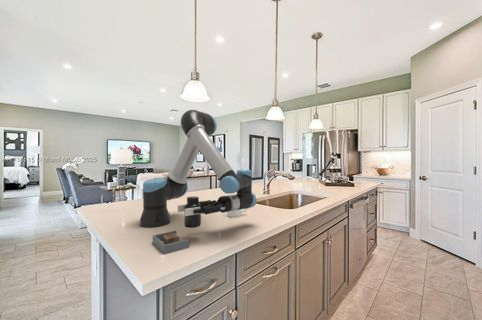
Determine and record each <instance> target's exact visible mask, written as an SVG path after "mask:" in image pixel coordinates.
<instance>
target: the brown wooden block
mask: <svg viewBox="0 0 482 320" xmlns="http://www.w3.org/2000/svg"><path fill="white" fill-rule="evenodd" d="M176 233H177V232H176ZM176 233H173V234H168V235H163V241H162V242H163V243H164V244H165V245H166V244H170V243H174V242H178V241H180V236H179V235H178V233H177V234H176Z"/></svg>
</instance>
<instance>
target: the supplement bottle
mask: <svg viewBox="0 0 482 320" xmlns="http://www.w3.org/2000/svg"><path fill="white" fill-rule="evenodd" d="M199 199H200V197H199V196H194V195H193V196H187V197H186V203H185V204H186V205H185V204H184V205H185V207H184V211H183V213H184V218H183V219H184V223H183V224H184V227H185V228H189V229H193V228H199V227H201V224H202V214H201V213H200V214H195V215H190V216H185V209H188V208H195V207H200V209H201V205H200V204H199V203H198V202H200V200H199Z"/></svg>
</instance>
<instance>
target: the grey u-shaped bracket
mask: <svg viewBox="0 0 482 320" xmlns="http://www.w3.org/2000/svg"><path fill="white" fill-rule="evenodd" d="M173 233H176V234H177V235H178V233H177V230H173V231H166V232H163V233H158V234H154V235H152V244H153V245H154V246H155V247H156V248H157V249H158V250H159V251H160V252H161V253H162V254H163V255H167V254H170V253H174V252H177V251H181V250H184V249H188V248H190V239H189V238H187V239H183V240H179V241H178V242H174V243H170V244H166V245H165V244H164V243H163V235H168V234H173Z"/></svg>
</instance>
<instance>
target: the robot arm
mask: <svg viewBox="0 0 482 320" xmlns="http://www.w3.org/2000/svg"><path fill="white" fill-rule="evenodd" d="M180 126H181V129H182V131H183V133H184V135H185V136H186V138H187V139H186V140H185V143H184V146H183V148H182V149H181V152H180V155H179V156H178V159H177V160H176V163H175V164H174V165H175V166H174V168H173V170H172V171H171V172H169V173H168V175H166V176H167V177H166V178H165V177H157V178H151V179H147V180H145V181H144V182H143V183H142V186H143V187H142V198H143V199H142V200H143V201H142V205H143V210H142V213H141V216H140V219H139V225H140V226H141V227H143V228H158V227H162V226H166V225H169V224H170V223H171V215H170V213H169V210H168V205H167V204H168V201H171V200H176V199H179V198H181V197H184V196H185V195H186V194H187V192H188V189H189V186H188V181H189V180H188V175H189V173H190V171H191V169H192V167H193V165H194V163H195V160H196V159H197V156H198V154H199V152H200V154H201V155H202V157H203V158H204V159H205V161H206V162H207V164H208V165H209V166H210V168H211V170H212V171H213V172H214V174H215V175H216V176H217V178H218V179H219V181H220V182H219V187H220V190H221V191H222V192H223V193H225V194H227V195H221V196H219V197H218V198H217V200H210V199H209V200H208V199H207V200H201V201H200V200H199V202H198V203H199V204H200V205H201V209H200V207H195V208H188V209H185V216H190V215H195V214H200V213H201V215H203V214H204V215H210V214H215V213H219V212H220V213H222V214H223V213H227V212H229V211H232V212H234V210H240V209H241V210H245V209H247V210H248V209H251V208H254V207H255V206H256V204H257V198H256V194H255V193H254V192H252V191H253V188H252V187H253V186H252V184H253V182H252V181H253V175H252V173H253V172H252V170H251V169H237V170H236V172H235V171H234V170H233V168H232V167H231V165H230V164H229V162H228V161H227V160H226V158H225V157H224V155H223V153H221V151H220V149H218V147H217V146H216V145H215V143H214V142H213V140H212V138H210V137H211V136H213V135H214V134H215V133H216V131H217V121H216V119H215V117H214V116H213V115H211V114H209V113H208V112H207V113H206V112H204V111H200V110H196V109H189V110H186V111H184V113H183V114H182V115H181V117H180ZM235 193H236V194H235ZM228 194H229V195H228ZM186 204H187V203H185V204H179V205H177V212H178V213H181V212H183V213H184V207H185V205H186Z"/></svg>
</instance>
